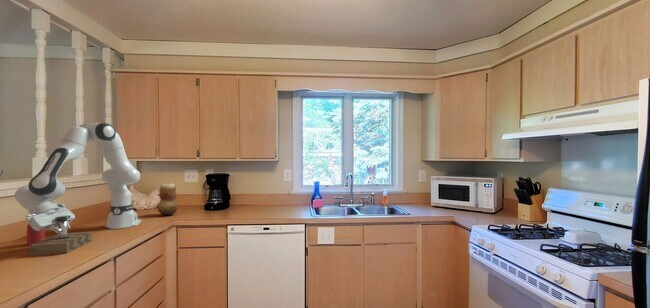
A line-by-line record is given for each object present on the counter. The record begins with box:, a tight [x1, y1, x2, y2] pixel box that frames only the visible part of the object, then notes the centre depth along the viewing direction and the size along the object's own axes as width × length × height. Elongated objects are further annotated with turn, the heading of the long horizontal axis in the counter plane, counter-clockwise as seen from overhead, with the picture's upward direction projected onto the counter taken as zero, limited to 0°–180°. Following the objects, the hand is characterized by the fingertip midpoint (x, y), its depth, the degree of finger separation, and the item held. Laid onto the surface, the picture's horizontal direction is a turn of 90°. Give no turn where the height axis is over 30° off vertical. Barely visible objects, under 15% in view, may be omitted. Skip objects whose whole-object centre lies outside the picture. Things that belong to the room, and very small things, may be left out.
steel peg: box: [56, 216, 70, 239], centre depth 143 cm, size 6×6×16 cm
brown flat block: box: [29, 231, 93, 257], centre depth 143 cm, size 20×15×5 cm
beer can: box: [26, 222, 46, 246], centre depth 150 cm, size 7×7×12 cm
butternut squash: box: [157, 182, 179, 216], centre depth 220 cm, size 14×13×25 cm
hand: (64, 230), depth 143 cm, fingers open, 4 cm apart
